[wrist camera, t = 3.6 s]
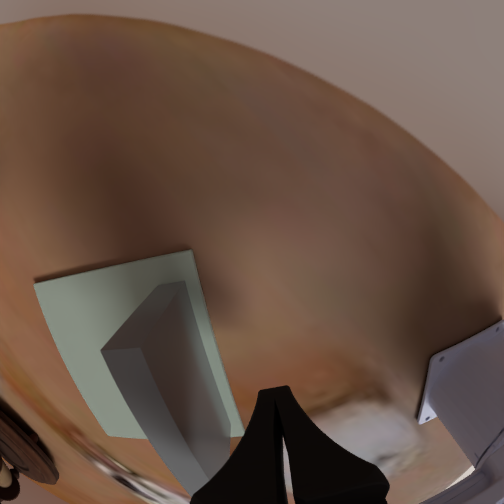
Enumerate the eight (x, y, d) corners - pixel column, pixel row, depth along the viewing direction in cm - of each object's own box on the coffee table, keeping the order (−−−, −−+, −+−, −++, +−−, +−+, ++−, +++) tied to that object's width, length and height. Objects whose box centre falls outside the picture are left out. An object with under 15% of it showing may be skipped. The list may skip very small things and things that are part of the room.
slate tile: (184, 280, 15) (140, 347, 8) (231, 424, 17) (227, 505, 10) (155, 285, 15) (96, 350, 8) (207, 426, 17) (196, 505, 10)
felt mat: (192, 248, 15) (190, 250, 14) (245, 431, 18) (245, 435, 17) (36, 282, 15) (33, 284, 15) (109, 432, 18) (107, 435, 17)
